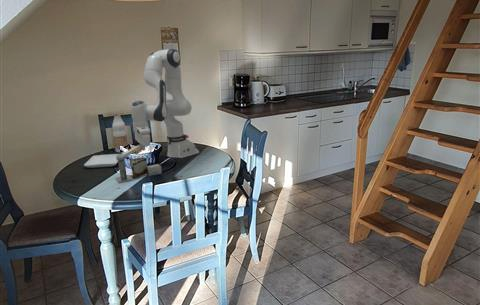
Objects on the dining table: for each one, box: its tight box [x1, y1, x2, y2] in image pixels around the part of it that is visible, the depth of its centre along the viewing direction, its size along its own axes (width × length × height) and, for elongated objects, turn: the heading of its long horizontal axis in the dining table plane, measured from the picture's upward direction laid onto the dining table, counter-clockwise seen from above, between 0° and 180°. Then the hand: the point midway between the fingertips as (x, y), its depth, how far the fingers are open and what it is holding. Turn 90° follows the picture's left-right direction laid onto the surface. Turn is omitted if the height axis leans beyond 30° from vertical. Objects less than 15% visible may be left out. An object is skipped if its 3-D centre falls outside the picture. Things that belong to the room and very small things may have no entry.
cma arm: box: [116, 144, 143, 160], centre depth 224 cm, size 24×6×2 cm, turn 164°
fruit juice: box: [111, 112, 129, 153], centre depth 272 cm, size 9×9×28 cm
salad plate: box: [83, 153, 121, 169], centre depth 250 cm, size 21×21×3 cm
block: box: [146, 163, 163, 177], centre depth 226 cm, size 8×5×5 cm, turn 119°
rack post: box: [115, 159, 133, 184], centre depth 217 cm, size 8×8×13 cm
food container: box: [129, 157, 148, 179], centre depth 224 cm, size 12×6×10 cm, turn 149°
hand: (143, 149), depth 230 cm, fingers closed
